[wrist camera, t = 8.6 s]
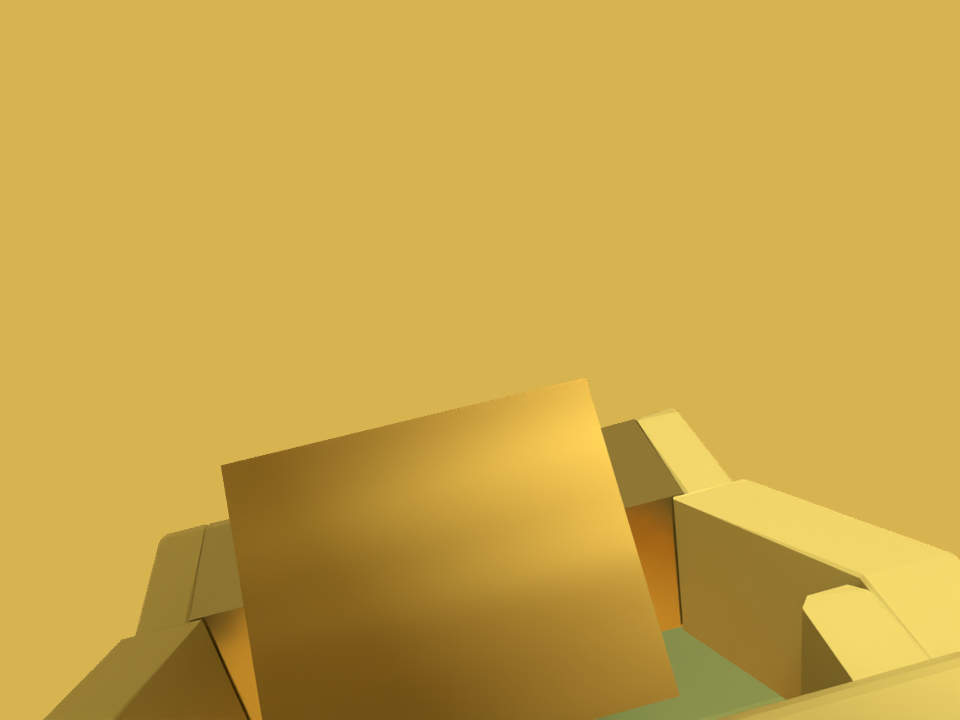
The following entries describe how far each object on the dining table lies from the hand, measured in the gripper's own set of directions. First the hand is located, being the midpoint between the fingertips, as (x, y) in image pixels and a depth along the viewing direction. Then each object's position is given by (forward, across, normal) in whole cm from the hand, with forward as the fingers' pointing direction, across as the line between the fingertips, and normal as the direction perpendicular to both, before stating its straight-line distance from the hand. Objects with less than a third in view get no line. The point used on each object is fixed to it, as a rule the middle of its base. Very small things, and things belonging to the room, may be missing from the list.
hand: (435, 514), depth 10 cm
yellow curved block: (+2, 0, +5) cm, 6 cm away
